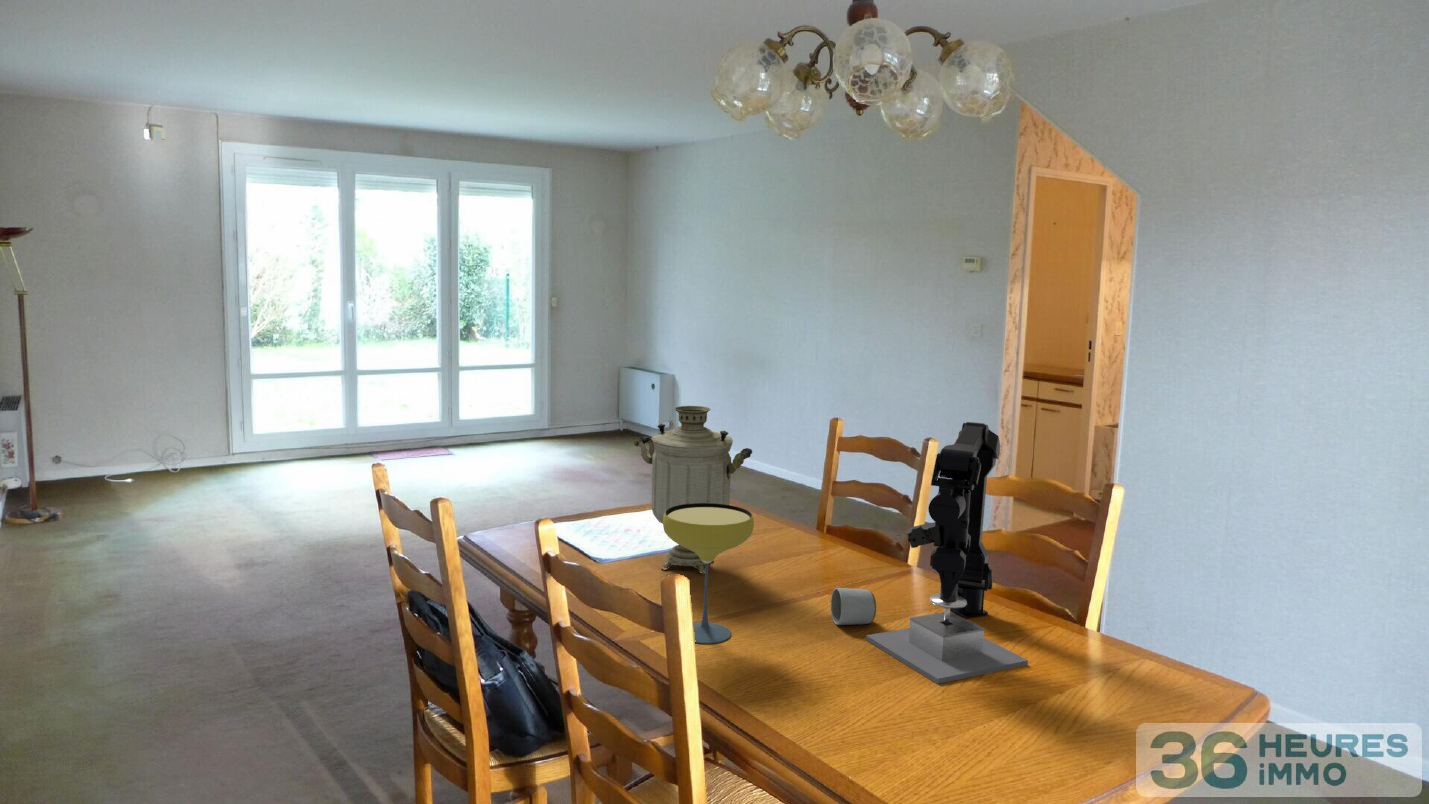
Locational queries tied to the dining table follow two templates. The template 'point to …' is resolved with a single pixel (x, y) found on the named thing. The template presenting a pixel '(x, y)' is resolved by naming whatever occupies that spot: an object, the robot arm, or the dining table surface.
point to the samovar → (689, 470)
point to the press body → (946, 636)
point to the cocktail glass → (708, 545)
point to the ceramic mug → (852, 606)
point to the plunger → (948, 602)
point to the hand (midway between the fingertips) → (948, 591)
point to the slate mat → (947, 670)
